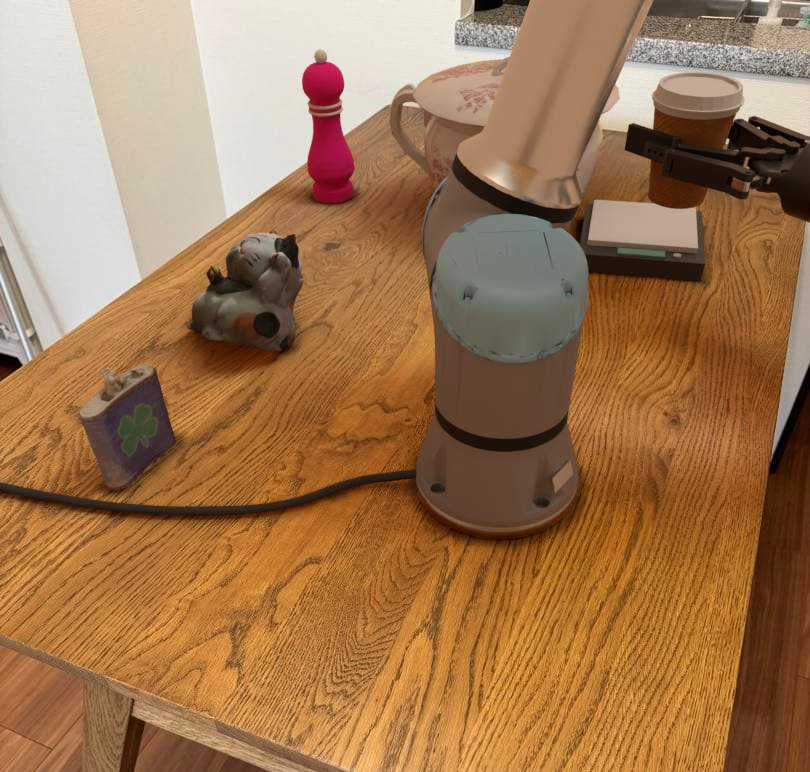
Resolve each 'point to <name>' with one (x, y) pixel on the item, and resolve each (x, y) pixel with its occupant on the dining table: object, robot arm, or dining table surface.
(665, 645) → the dining table surface
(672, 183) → the disposable coffee cup
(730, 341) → the dining table surface
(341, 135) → the pepper mill
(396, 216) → the dining table surface
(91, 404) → the flask
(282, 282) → the lucky cat figurine
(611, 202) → the kitchen scale
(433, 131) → the chamber pot
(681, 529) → the dining table surface
